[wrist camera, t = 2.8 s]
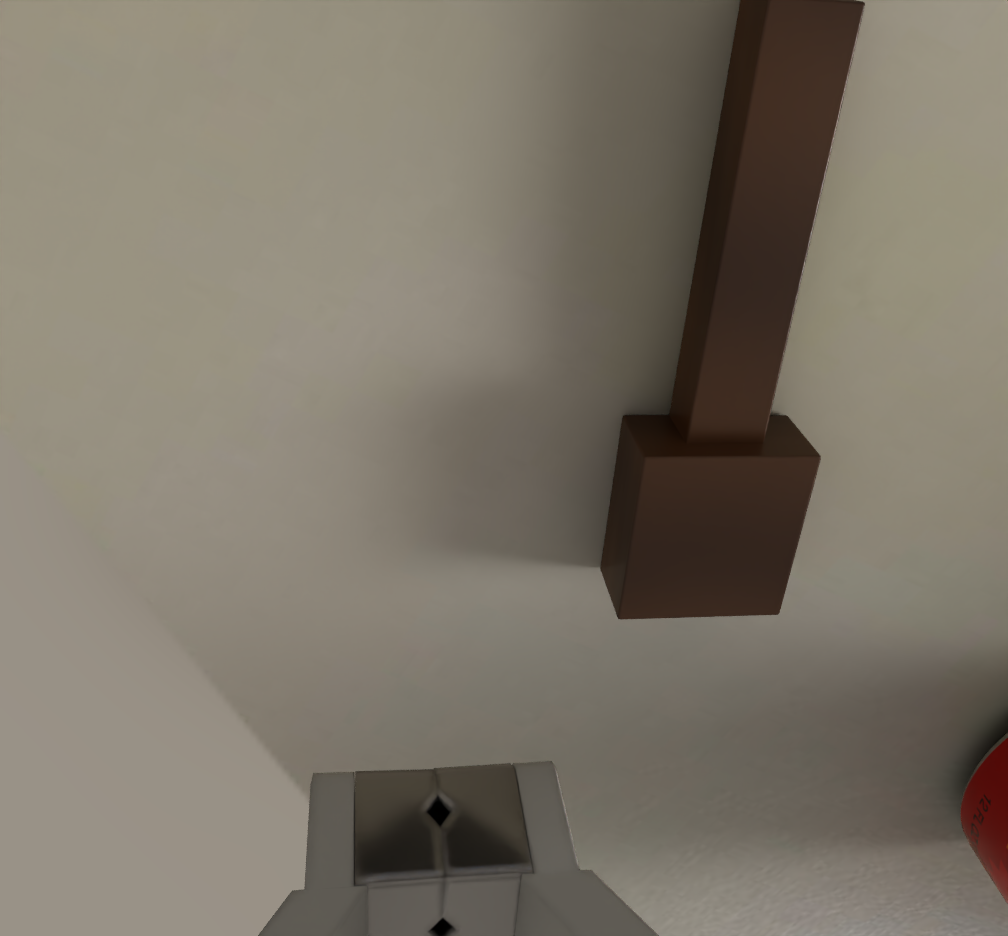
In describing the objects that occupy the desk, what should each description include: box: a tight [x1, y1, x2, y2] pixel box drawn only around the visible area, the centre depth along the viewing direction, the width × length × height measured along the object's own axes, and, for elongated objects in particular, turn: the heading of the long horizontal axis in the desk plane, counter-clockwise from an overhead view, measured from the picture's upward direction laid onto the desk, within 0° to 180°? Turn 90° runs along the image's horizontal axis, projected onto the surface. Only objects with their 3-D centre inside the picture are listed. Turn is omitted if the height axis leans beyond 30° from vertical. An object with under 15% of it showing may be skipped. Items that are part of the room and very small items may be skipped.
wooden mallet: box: [601, 0, 865, 619], centre depth 20 cm, size 13×4×2 cm, turn 176°
